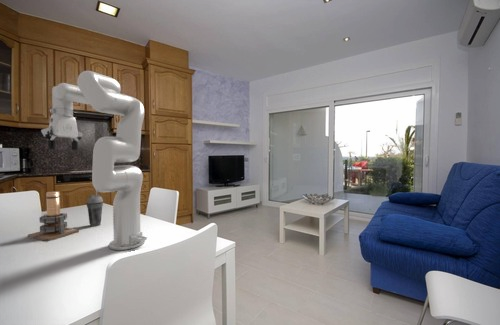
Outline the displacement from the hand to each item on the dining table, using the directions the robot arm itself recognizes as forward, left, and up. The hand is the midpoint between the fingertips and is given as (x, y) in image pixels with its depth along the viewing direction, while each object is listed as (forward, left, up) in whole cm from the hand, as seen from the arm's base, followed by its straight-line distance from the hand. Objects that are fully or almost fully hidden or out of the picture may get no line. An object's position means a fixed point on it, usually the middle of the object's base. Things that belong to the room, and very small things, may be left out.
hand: (63, 149), depth 109 cm
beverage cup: (-8, -9, -38) cm, 40 cm away
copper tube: (-4, +7, -37) cm, 38 cm away
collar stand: (-4, +7, -38) cm, 39 cm away
